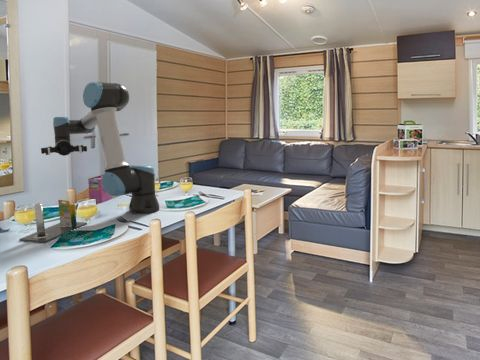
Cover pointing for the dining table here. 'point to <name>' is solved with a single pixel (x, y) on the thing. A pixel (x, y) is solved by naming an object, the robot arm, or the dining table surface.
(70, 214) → the crayon box
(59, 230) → the plate
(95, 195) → the gum box
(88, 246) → the dining table surface
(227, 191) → the dining table surface
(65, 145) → the robot arm
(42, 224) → the post
